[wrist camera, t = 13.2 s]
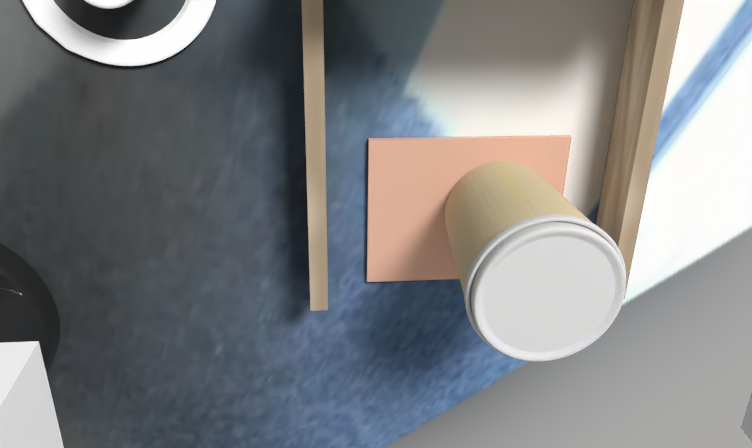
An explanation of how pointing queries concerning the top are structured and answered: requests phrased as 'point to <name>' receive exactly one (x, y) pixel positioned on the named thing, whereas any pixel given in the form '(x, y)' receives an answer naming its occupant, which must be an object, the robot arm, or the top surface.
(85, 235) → the top surface
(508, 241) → the coffee cup
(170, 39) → the candle holder
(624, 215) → the bay
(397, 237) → the front mat
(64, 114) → the top surface
